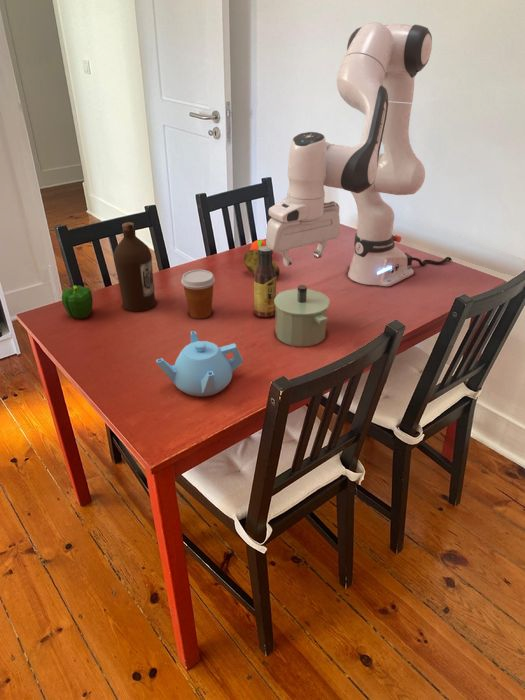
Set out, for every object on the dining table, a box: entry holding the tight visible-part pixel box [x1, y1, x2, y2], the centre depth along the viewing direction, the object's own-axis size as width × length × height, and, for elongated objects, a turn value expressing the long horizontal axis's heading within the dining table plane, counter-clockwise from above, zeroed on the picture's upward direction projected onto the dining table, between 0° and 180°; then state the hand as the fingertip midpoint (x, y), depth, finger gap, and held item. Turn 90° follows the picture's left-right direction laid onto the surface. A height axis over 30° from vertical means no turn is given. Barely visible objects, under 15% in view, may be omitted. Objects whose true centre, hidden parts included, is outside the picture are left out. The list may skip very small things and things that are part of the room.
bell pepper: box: [61, 285, 93, 320], centre depth 152 cm, size 8×8×10 cm
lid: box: [274, 284, 331, 316], centre depth 139 cm, size 15×15×5 cm
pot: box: [274, 290, 329, 347], centre depth 142 cm, size 14×19×10 cm
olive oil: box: [113, 221, 156, 312], centre depth 153 cm, size 11×11×25 cm
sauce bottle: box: [253, 246, 277, 318], centre depth 149 cm, size 6×6×20 cm
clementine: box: [249, 239, 267, 251], centre depth 187 cm, size 8×7×7 cm
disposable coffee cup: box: [180, 269, 216, 319], centre depth 152 cm, size 10×10×12 cm
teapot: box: [155, 330, 244, 398], centre depth 123 cm, size 15×15×11 cm
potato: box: [243, 249, 281, 278], centre depth 175 cm, size 8×13×8 cm, turn 34°
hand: (302, 261), depth 133 cm, fingers open, 8 cm apart
